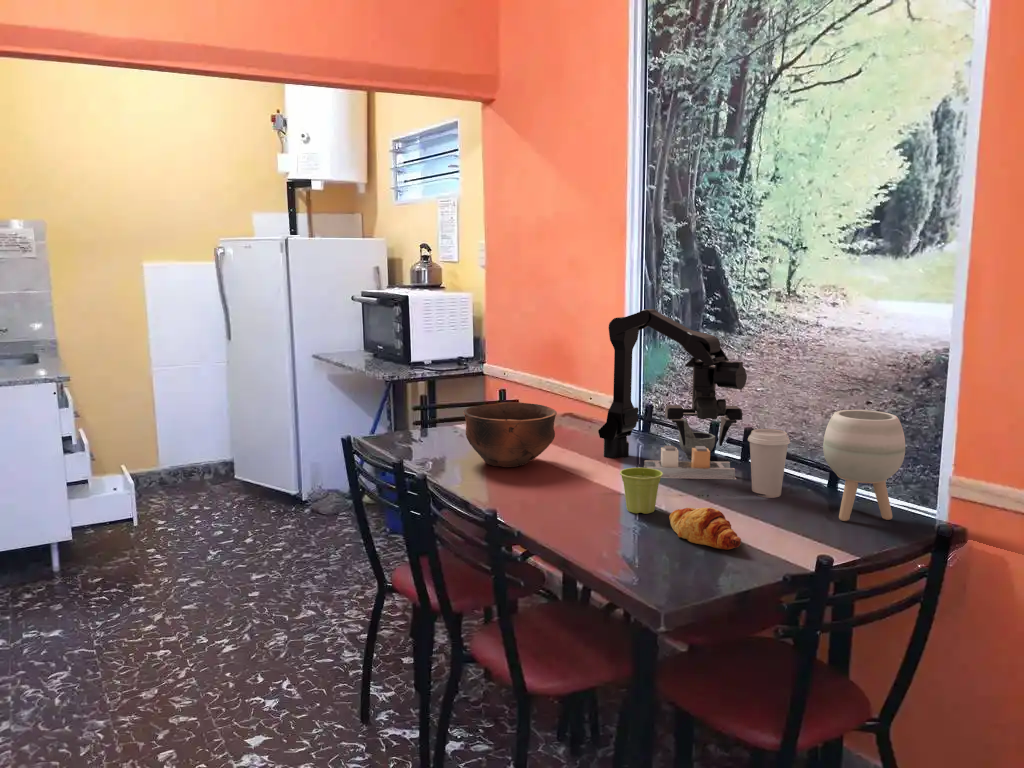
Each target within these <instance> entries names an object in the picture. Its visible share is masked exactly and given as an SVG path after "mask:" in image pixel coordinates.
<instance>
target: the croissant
mask: <svg viewBox="0 0 1024 768" xmlns="http://www.w3.org/2000/svg"><path fill="white" fill-rule="evenodd" d="M668 518H669V522H670V523H669V524H670V527H671V528H672V530H673V532H674V533H676V534H677V537H678V538H682V539H683V540H687V541H688V542H690V543H692V544H696V545H697V544H698V545H702V546H707V547H711V548H714V549H719V550H732V549H734V548H735V549H737V548H739V546H741V545H742V544H741V543H742V538H741V537H739V536H738V533H736V532H735V530H734V529H732V524H731V522H730V521H729V520H727V519H726V517H725V514H724V513H723V512H722V511H720V509H716V508H713V507H710V506H709V507H699V508H694V507H685V508H682V509H681V508H679V509H678V508H677V509H675V510H673V511H672V512H671V513H670V514H669V517H668Z"/></svg>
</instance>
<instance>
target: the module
mask: <svg viewBox="0 0 1024 768" xmlns="http://www.w3.org/2000/svg"><path fill="white" fill-rule="evenodd" d="M691 461H692V462H691V467H698V468H710V461H711V452H710V451H709V449H708V448H706V447H705V446H695V448H692V459H691Z"/></svg>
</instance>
